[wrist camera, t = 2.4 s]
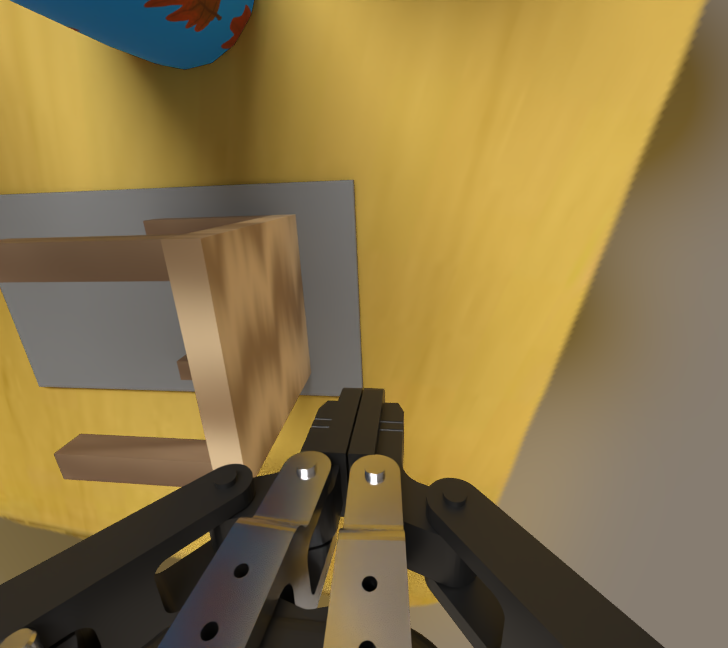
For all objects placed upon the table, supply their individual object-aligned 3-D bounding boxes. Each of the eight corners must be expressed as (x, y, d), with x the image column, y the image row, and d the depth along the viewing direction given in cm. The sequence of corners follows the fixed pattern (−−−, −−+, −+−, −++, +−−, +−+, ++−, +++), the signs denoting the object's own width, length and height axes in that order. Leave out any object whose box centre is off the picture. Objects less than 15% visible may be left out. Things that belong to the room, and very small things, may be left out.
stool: (158, 218, 26) (-33, 244, 15) (295, 214, 25) (200, 238, 14) (192, 370, 30) (63, 478, 19) (311, 373, 29) (248, 491, 18)
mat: (-30, 196, 27) (-36, 196, 27) (353, 179, 24) (352, 179, 24) (43, 384, 33) (39, 386, 33) (363, 394, 29) (362, 396, 29)
